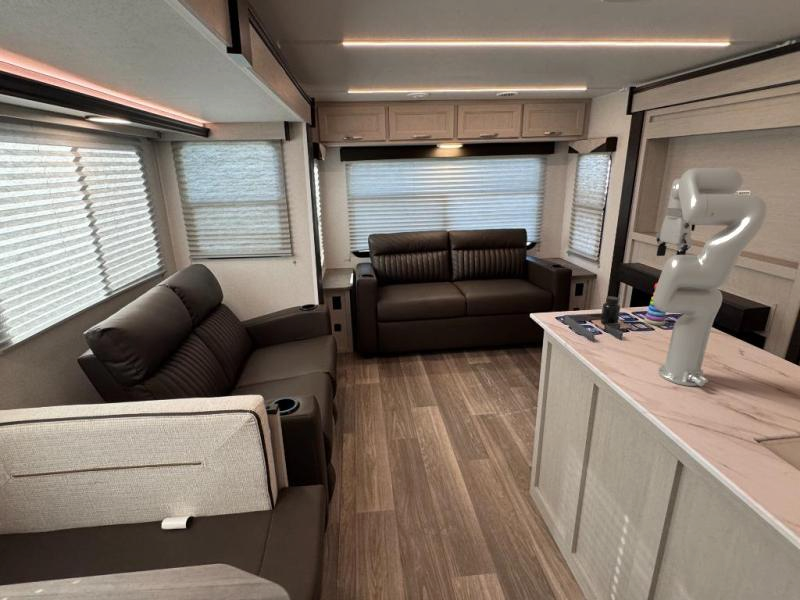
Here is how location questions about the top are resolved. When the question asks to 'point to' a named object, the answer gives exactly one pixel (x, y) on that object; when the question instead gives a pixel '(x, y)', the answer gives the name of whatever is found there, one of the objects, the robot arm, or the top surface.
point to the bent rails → (572, 320)
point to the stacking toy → (654, 314)
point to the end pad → (598, 322)
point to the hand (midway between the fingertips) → (669, 258)
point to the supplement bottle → (610, 310)
